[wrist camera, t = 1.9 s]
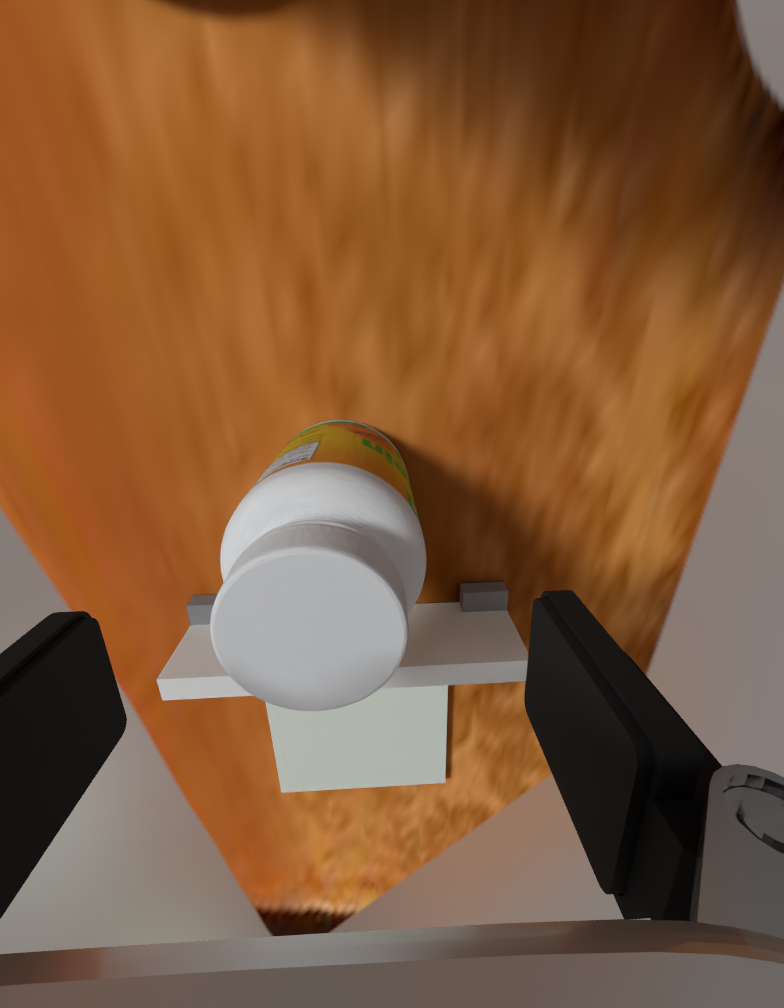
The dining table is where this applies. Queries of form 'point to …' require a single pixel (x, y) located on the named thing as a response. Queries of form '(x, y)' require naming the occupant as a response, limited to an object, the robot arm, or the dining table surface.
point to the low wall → (427, 660)
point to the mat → (363, 741)
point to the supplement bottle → (320, 571)
